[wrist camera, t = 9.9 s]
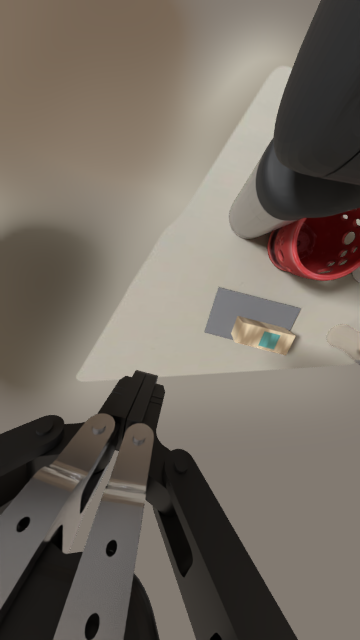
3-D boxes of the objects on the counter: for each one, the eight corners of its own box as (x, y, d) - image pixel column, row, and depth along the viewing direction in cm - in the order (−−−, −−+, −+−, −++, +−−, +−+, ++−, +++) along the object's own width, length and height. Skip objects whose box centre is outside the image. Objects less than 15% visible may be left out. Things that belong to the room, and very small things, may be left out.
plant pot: (261, 277, 40) (286, 284, 28) (265, 213, 36) (297, 190, 24) (322, 273, 38) (374, 278, 27) (333, 205, 34) (401, 177, 23)
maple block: (242, 322, 38) (296, 336, 38) (237, 315, 43) (284, 327, 42) (235, 342, 39) (286, 355, 39) (230, 333, 44) (276, 345, 44)
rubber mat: (218, 287, 41) (218, 287, 41) (299, 307, 41) (300, 308, 41) (204, 331, 45) (204, 332, 45) (278, 350, 45) (279, 351, 45)
